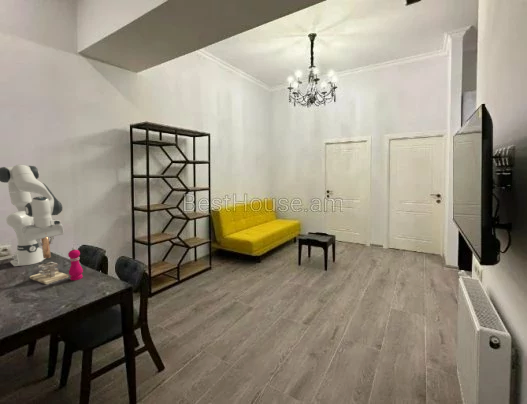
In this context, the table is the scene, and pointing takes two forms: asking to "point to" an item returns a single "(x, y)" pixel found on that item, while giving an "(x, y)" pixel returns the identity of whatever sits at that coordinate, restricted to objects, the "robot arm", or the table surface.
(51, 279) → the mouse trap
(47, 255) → the brown rounded cylinder
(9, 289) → the table surface
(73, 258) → the pepper mill
